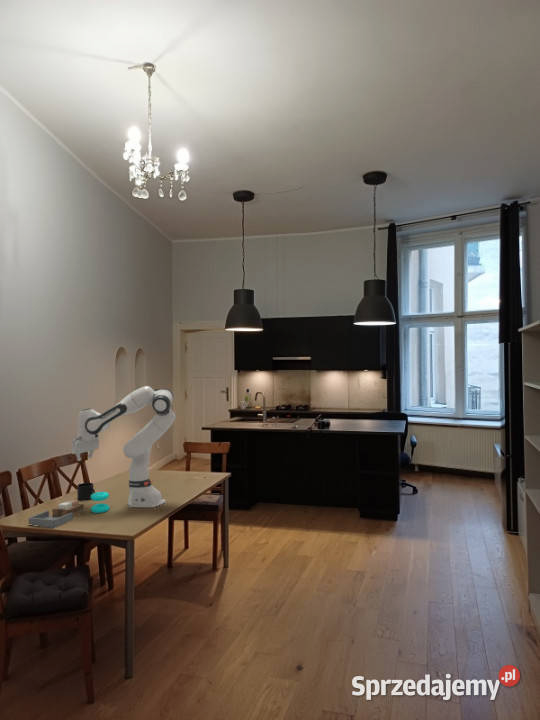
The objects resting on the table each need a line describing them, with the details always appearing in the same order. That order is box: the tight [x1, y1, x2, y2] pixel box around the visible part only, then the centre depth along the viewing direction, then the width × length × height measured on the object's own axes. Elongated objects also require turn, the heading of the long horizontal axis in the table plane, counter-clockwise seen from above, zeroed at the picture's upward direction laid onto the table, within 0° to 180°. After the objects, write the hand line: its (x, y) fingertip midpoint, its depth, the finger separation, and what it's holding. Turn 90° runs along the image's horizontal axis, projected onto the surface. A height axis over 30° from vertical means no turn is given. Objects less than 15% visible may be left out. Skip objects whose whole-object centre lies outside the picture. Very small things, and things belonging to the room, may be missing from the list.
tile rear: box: [65, 499, 80, 506], centre depth 292 cm, size 5×5×2 cm
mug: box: [76, 482, 96, 501], centre depth 324 cm, size 9×12×9 cm
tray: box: [28, 510, 74, 529], centre depth 277 cm, size 17×14×4 cm
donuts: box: [90, 491, 110, 514], centre depth 297 cm, size 10×10×10 cm
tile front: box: [57, 501, 72, 509], centre depth 287 cm, size 5×5×2 cm
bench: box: [52, 503, 85, 518], centre depth 289 cm, size 11×12×5 cm
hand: (84, 459), depth 308 cm, fingers open, 8 cm apart
